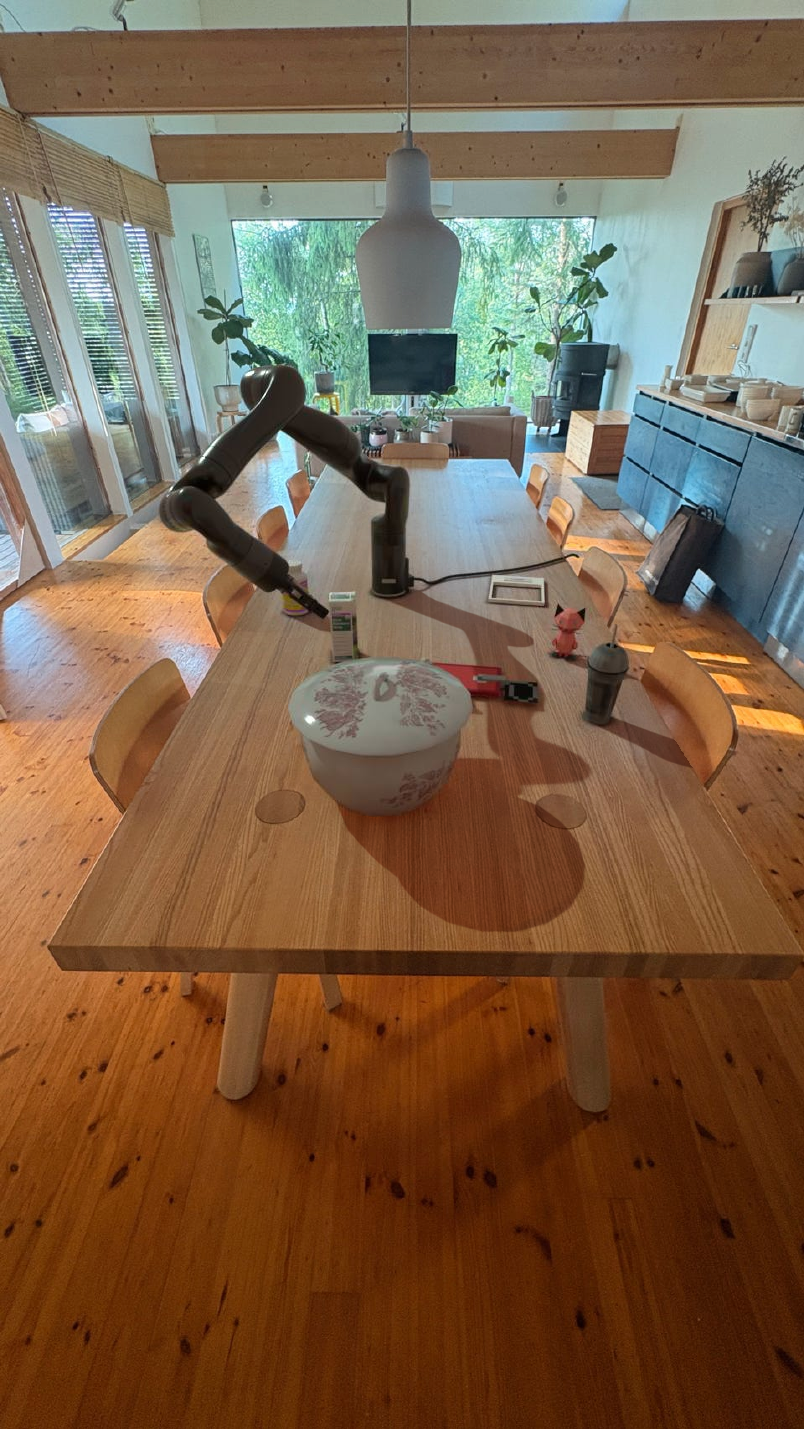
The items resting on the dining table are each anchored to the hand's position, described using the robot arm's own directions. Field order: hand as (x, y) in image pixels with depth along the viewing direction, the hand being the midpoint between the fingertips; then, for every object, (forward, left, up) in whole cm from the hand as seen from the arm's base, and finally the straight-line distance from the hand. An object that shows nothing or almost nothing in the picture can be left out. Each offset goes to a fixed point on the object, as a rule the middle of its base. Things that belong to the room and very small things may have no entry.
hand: (318, 607), depth 131 cm
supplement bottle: (-5, -29, -13) cm, 32 cm away
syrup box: (-6, 0, -13) cm, 14 cm away
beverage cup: (-37, +46, -13) cm, 61 cm away
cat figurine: (-49, +23, -13) cm, 56 cm away
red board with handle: (-21, +24, -13) cm, 35 cm away
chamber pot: (+8, +44, -13) cm, 47 cm away
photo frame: (-63, -12, -13) cm, 65 cm away
